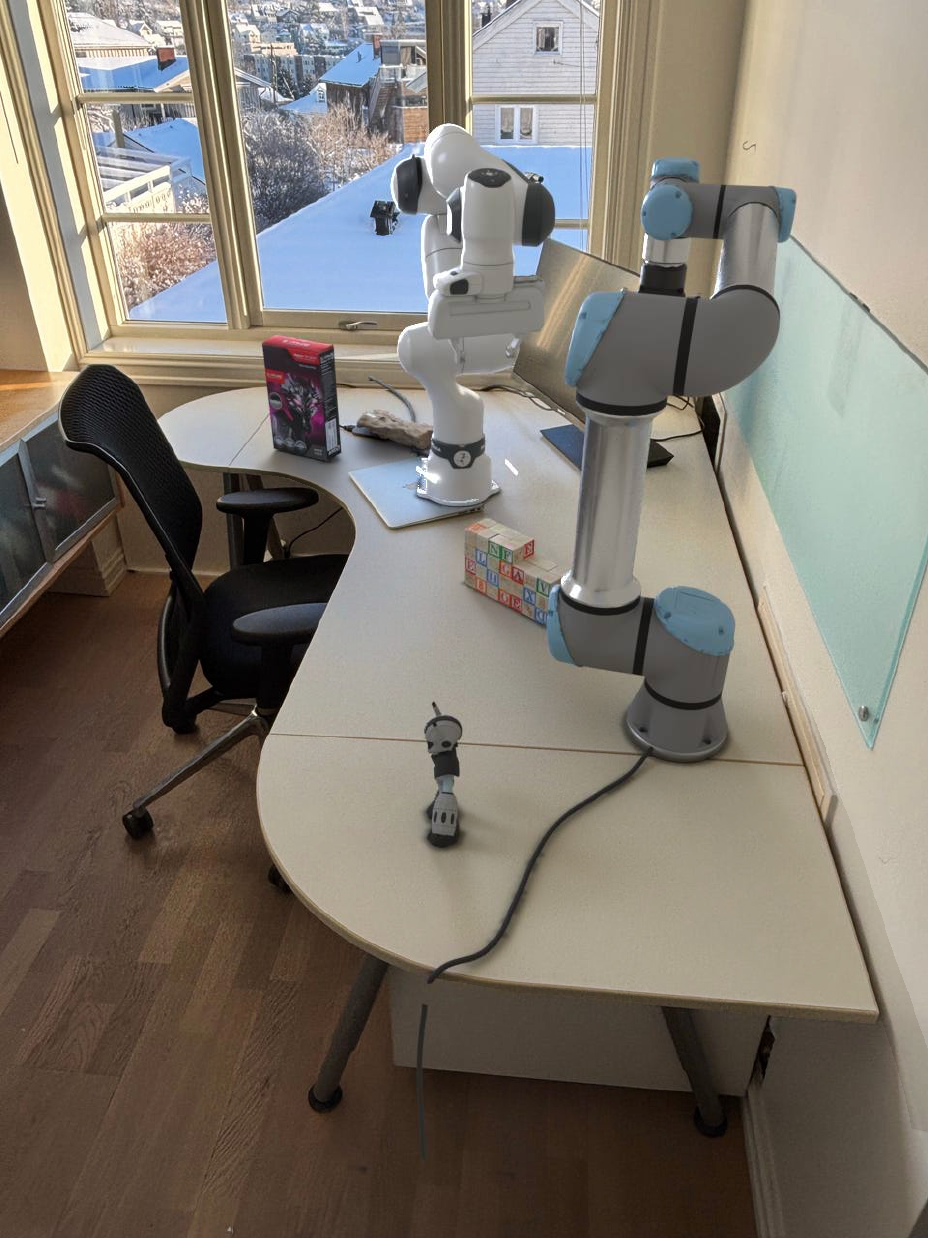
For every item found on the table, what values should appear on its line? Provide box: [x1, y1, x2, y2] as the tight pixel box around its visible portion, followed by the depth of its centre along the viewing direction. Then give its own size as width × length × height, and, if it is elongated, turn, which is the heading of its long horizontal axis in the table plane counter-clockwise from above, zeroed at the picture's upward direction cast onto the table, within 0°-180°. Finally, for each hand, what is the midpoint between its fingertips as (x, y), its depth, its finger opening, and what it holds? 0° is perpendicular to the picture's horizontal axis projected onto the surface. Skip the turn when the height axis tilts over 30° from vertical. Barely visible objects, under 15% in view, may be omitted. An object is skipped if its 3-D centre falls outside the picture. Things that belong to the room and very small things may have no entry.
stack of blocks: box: [463, 517, 571, 627], centre depth 171 cm, size 21×6×12 cm, turn 45°
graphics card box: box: [261, 334, 342, 462], centre depth 222 cm, size 17×7×27 cm, turn 62°
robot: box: [423, 701, 463, 848], centre depth 121 cm, size 20×5×20 cm, turn 3°
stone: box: [356, 409, 434, 450], centre depth 235 cm, size 21×15×6 cm
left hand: (485, 359), depth 161 cm, fingers open, 8 cm apart
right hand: (649, 386), depth 165 cm, fingers open, 13 cm apart
